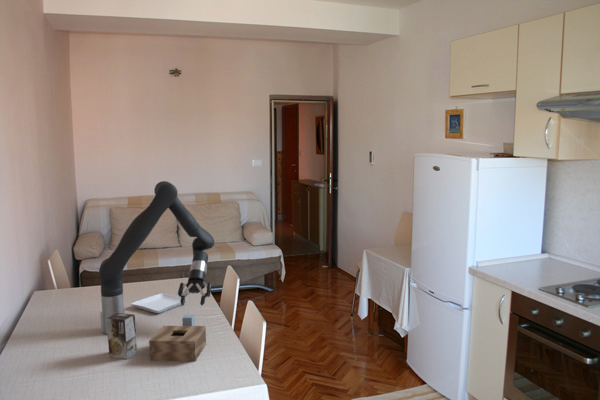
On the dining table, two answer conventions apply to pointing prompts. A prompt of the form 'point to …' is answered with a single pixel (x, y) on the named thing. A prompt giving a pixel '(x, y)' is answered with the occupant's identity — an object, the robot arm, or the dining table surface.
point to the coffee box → (121, 335)
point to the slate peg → (188, 320)
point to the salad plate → (158, 303)
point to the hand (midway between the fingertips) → (192, 304)
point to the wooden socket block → (177, 343)
